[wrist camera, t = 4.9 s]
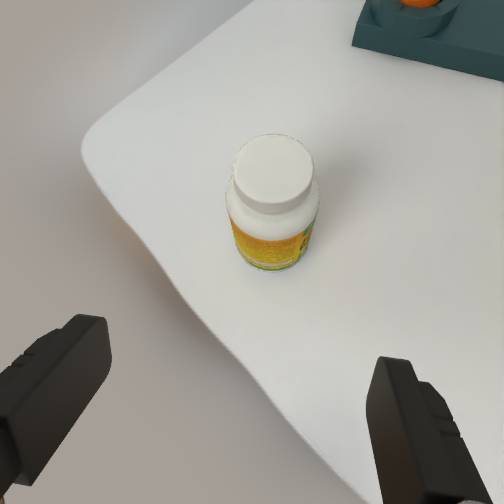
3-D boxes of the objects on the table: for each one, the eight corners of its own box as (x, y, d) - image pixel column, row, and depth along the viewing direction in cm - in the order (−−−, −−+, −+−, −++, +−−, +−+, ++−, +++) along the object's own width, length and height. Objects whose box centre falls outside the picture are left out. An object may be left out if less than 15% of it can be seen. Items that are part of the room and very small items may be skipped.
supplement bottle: (238, 207, 27) (222, 120, 18) (307, 208, 27) (327, 121, 18) (233, 273, 25) (213, 213, 16) (308, 276, 25) (330, 216, 16)
